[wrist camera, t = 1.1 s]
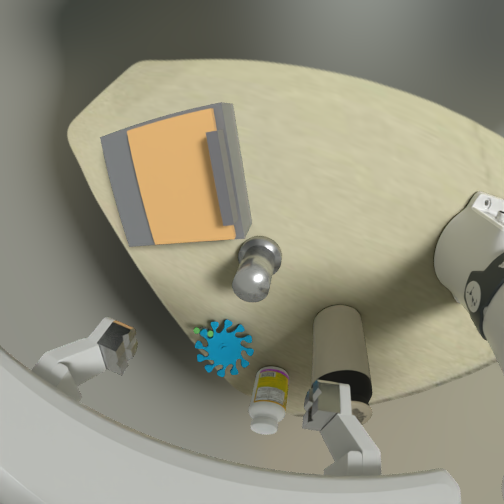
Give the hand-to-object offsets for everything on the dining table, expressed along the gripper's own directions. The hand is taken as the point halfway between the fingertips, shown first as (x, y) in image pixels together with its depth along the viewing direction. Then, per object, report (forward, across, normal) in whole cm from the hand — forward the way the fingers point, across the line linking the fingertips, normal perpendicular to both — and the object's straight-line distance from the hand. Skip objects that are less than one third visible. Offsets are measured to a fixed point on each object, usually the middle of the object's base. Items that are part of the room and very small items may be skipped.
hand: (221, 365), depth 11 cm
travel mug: (+28, -15, +18) cm, 36 cm away
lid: (+22, +11, 0) cm, 25 cm away
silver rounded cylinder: (+28, 0, +10) cm, 29 cm away
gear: (+28, +3, +27) cm, 39 cm away
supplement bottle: (+28, -8, +36) cm, 46 cm away
